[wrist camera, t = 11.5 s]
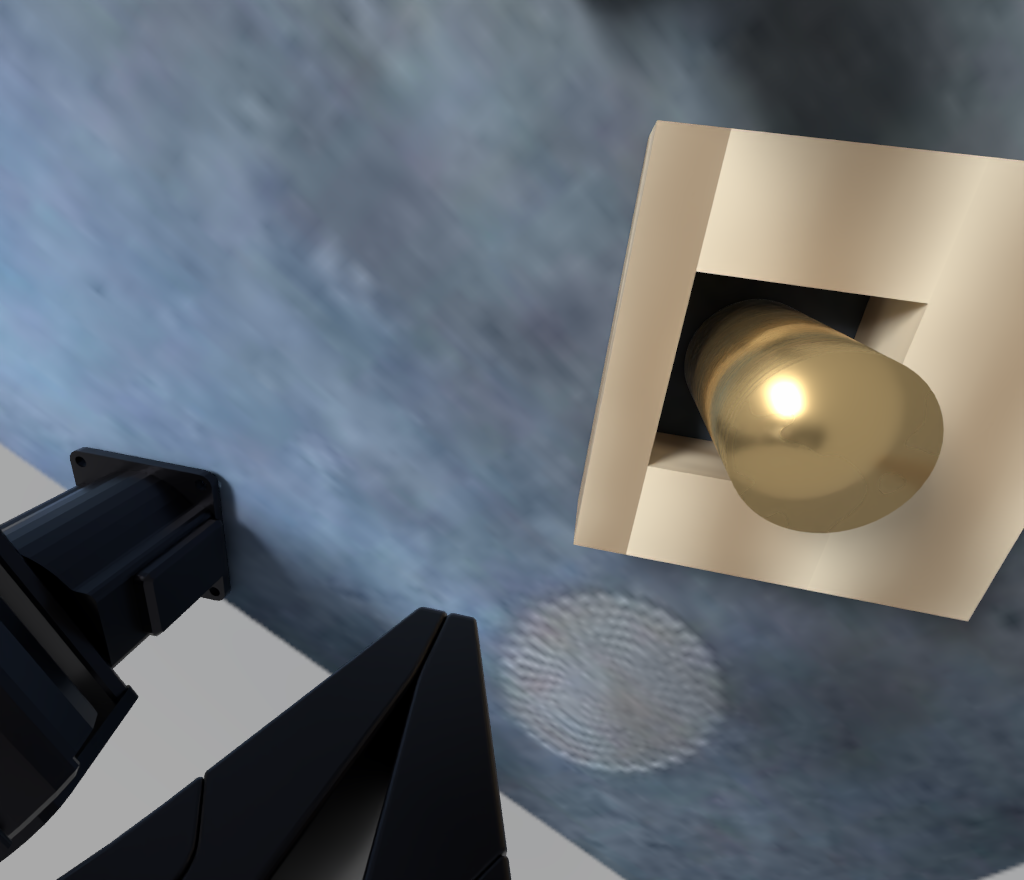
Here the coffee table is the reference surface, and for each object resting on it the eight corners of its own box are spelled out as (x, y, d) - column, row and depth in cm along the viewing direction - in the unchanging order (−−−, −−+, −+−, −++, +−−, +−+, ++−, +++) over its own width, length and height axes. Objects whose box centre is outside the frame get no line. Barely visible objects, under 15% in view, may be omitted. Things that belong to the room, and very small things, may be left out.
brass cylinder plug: (671, 410, 18) (704, 514, 12) (701, 290, 17) (759, 337, 10) (792, 430, 18) (894, 549, 12) (836, 309, 16) (981, 370, 10)
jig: (578, 499, 20) (573, 544, 17) (648, 136, 15) (657, 120, 13) (916, 562, 19) (967, 621, 16) (1108, 189, 14) (1228, 183, 11)
